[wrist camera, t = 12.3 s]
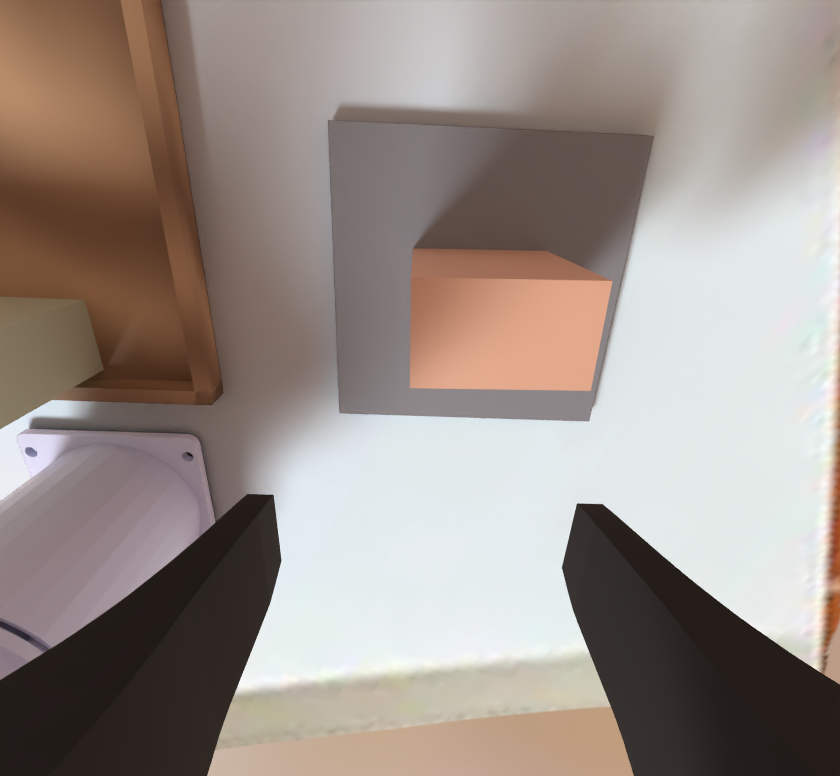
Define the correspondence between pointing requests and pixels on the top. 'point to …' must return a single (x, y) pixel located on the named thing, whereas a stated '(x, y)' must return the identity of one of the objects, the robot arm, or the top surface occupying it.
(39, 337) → the khaki rectangular block
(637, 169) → the mat
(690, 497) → the top surface
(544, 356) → the salmon pink box
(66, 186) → the wooden serving tray
